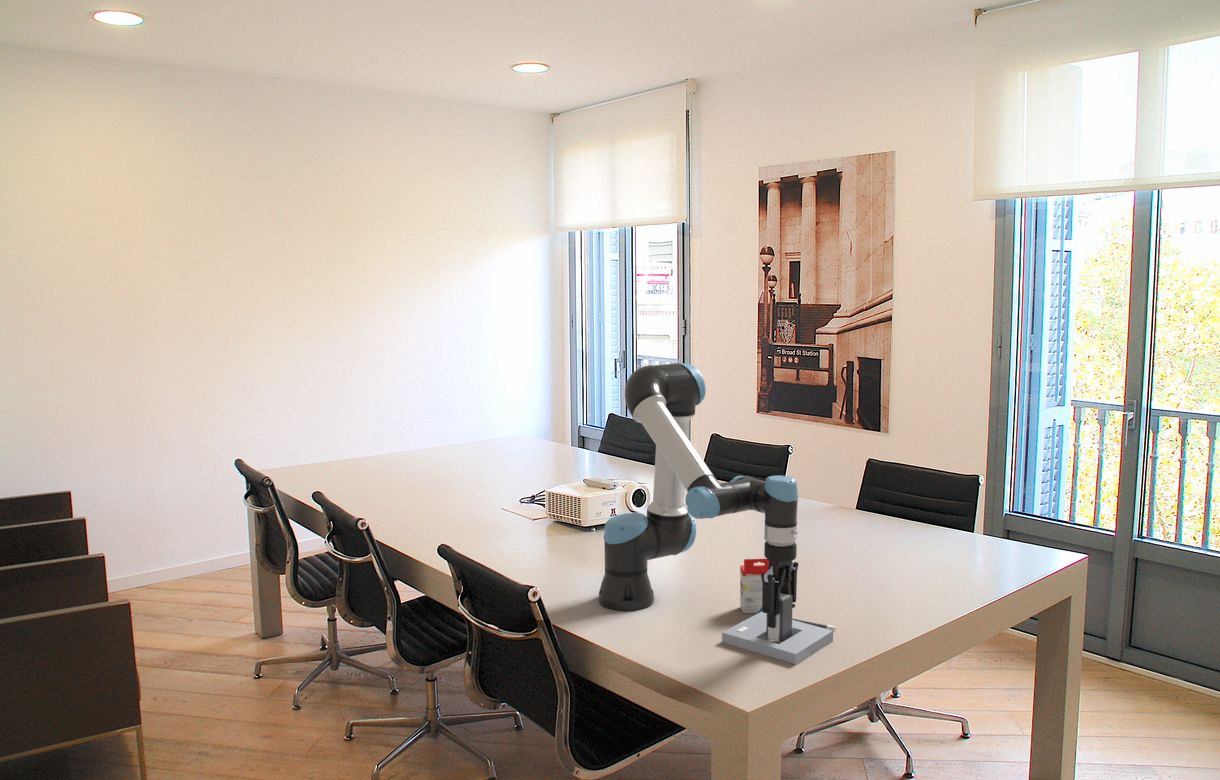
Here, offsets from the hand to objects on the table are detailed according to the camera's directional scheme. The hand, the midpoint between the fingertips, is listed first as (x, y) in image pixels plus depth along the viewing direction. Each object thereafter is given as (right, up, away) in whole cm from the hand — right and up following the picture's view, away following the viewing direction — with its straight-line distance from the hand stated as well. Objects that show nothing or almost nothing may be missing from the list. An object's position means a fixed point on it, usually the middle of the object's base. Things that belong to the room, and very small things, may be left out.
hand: (779, 636), depth 216 cm
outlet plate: (0, -2, +2) cm, 2 cm away
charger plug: (0, 0, 0) cm, 0 cm away
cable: (+8, 0, +13) cm, 15 cm away
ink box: (-2, +1, +23) cm, 23 cm away
